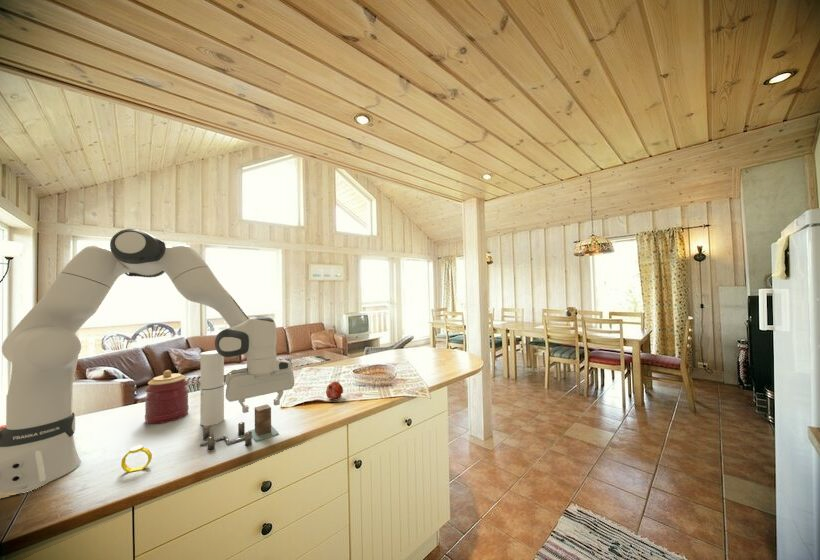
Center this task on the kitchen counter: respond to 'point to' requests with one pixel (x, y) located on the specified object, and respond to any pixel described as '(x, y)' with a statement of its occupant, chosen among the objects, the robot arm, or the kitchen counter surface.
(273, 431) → the mat
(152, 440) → the kitchen counter surface
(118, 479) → the kitchen counter surface
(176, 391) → the canister
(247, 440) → the gates
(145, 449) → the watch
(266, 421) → the block
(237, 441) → the wire
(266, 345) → the robot arm
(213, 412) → the cylindrical container
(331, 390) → the pomegranate
